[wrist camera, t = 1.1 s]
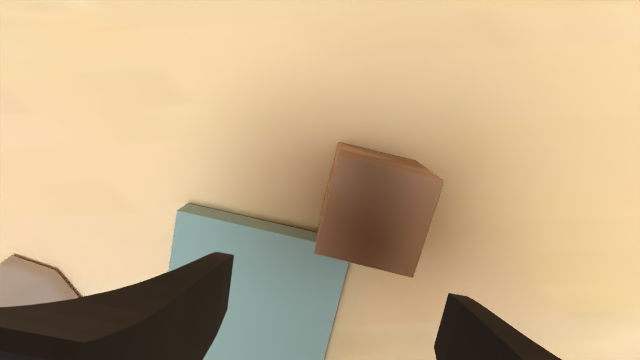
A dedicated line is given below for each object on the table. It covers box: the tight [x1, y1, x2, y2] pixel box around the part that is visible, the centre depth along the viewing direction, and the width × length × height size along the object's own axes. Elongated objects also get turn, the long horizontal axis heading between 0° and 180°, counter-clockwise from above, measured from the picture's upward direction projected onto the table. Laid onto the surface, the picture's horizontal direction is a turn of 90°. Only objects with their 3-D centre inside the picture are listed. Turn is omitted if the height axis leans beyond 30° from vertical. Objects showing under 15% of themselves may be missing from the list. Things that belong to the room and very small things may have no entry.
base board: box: [169, 203, 349, 360], centre depth 22 cm, size 10×10×2 cm
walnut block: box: [314, 142, 444, 278], centre depth 18 cm, size 4×4×6 cm
